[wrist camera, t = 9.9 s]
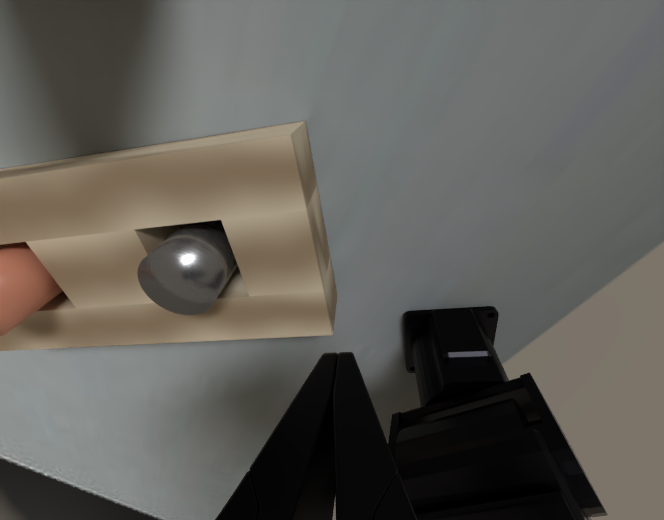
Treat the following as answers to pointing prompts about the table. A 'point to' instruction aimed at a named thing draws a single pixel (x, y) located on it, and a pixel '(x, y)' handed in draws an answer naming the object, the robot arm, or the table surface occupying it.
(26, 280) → the red button
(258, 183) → the button panel
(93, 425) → the table surface
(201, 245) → the grey button
